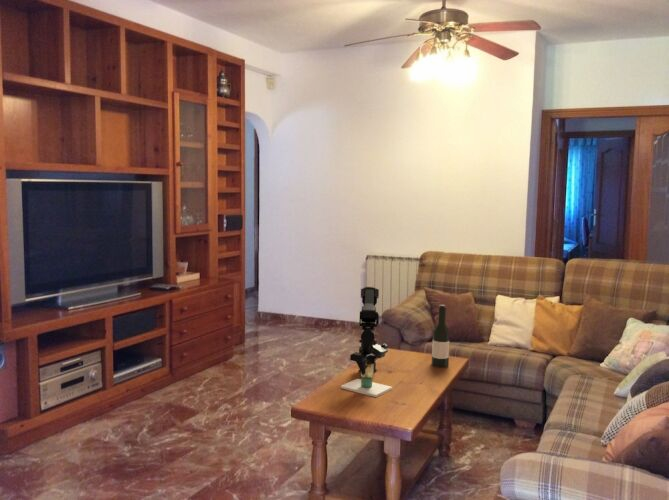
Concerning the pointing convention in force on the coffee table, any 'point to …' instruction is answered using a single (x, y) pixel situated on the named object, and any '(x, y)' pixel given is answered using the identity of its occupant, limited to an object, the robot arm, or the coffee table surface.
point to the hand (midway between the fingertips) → (366, 372)
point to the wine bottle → (441, 341)
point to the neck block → (366, 387)
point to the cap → (368, 370)
